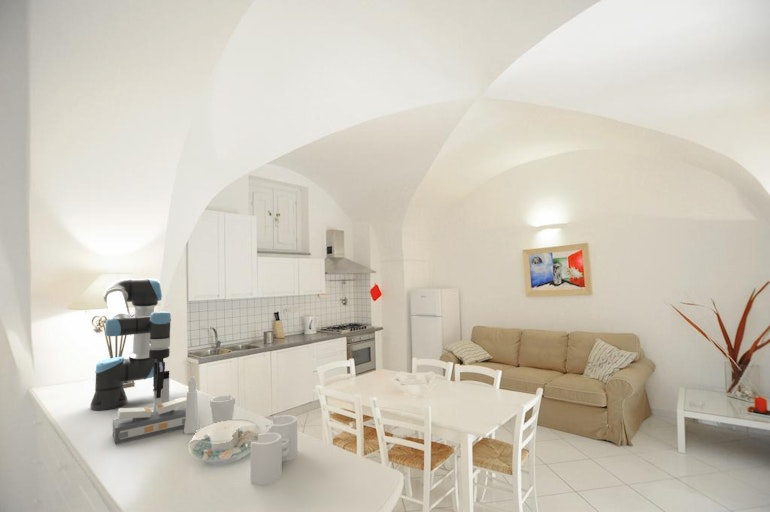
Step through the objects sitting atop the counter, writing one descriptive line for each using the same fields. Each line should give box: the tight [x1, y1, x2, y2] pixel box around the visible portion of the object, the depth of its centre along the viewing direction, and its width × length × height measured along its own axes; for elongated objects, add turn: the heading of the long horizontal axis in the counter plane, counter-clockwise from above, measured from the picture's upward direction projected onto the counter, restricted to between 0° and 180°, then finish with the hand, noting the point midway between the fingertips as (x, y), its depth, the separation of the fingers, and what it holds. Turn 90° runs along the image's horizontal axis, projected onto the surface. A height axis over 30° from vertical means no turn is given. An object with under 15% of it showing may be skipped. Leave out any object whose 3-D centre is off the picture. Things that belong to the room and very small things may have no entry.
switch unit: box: [112, 406, 186, 445], centre depth 158 cm, size 12×27×7 cm, turn 129°
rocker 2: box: [156, 396, 187, 414], centre depth 163 cm, size 6×11×3 cm, turn 129°
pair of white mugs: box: [250, 414, 298, 486], centre depth 127 cm, size 25×10×12 cm, turn 177°
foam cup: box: [210, 394, 236, 424], centre depth 157 cm, size 10×9×13 cm
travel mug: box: [152, 370, 170, 412], centre depth 178 cm, size 6×7×20 cm
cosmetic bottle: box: [183, 376, 200, 435], centre depth 157 cm, size 6×6×22 cm
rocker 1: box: [116, 406, 153, 419], centre depth 155 cm, size 6×11×3 cm, turn 129°
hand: (157, 405), depth 160 cm, fingers closed
